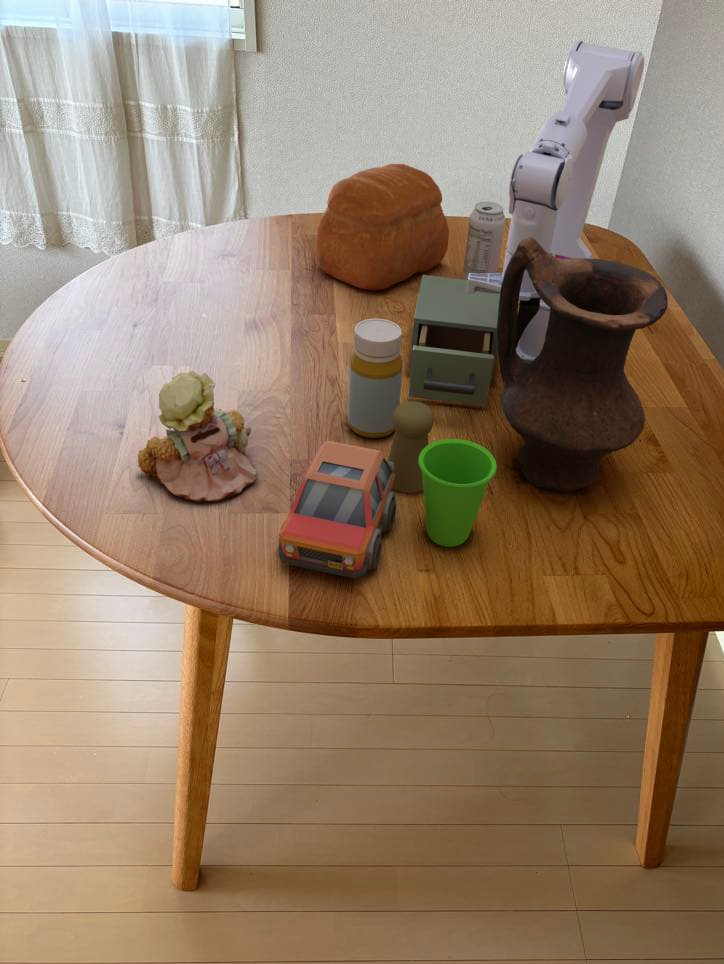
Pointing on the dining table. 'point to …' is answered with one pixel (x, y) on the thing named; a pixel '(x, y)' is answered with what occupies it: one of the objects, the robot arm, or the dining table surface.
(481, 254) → the energy drink can
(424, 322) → the cabinet
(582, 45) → the robot arm
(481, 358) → the drawer
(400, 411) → the pepper shaker
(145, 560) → the dining table surface
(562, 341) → the jug
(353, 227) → the bread
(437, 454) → the cup
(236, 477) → the figurine
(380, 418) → the bottle
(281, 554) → the toy car
